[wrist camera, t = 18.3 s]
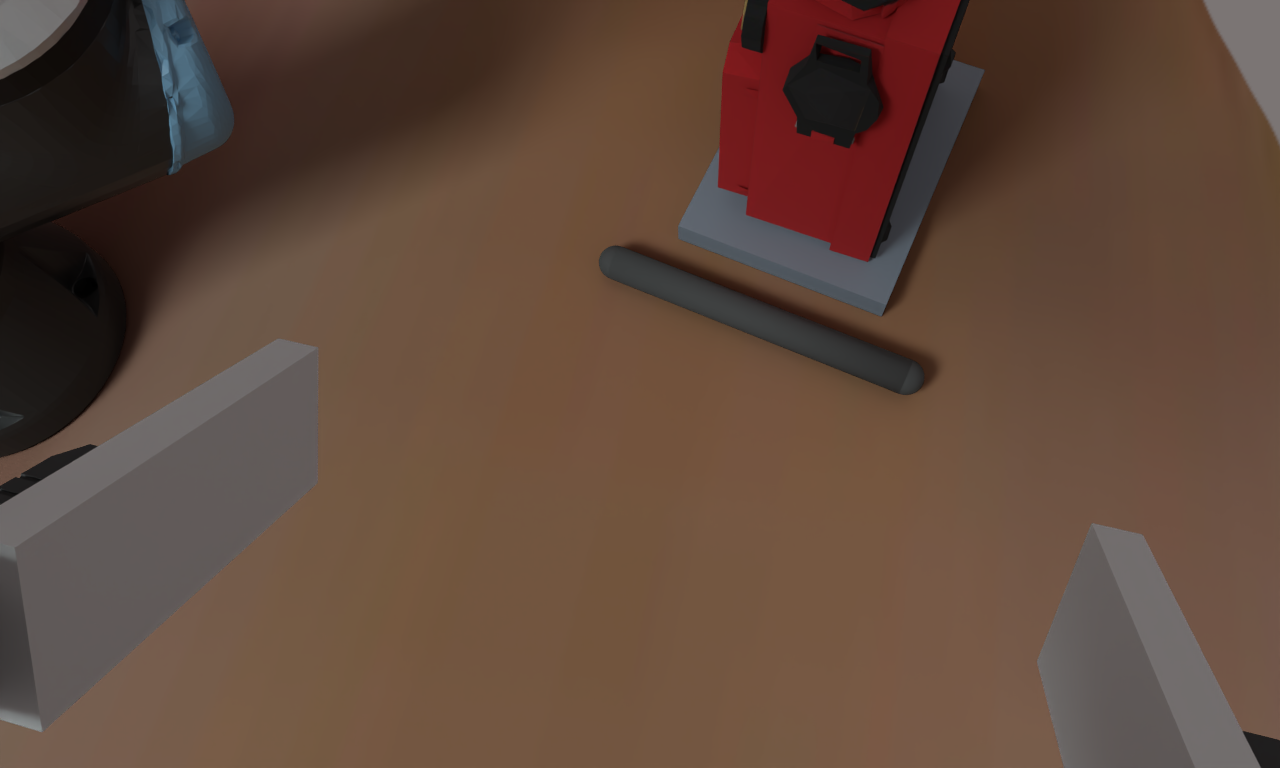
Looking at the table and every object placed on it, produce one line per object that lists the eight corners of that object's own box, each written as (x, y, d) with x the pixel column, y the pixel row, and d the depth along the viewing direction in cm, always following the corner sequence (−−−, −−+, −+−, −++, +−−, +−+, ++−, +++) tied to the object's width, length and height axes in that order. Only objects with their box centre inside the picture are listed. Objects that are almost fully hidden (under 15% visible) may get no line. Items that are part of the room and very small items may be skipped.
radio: (793, 31, 62) (836, -282, 44) (946, 75, 60) (1060, -233, 42) (706, 229, 57) (713, -31, 39) (871, 283, 55) (962, 37, 37)
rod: (595, 278, 58) (591, 261, 56) (609, 251, 59) (606, 234, 57) (913, 405, 54) (921, 392, 52) (924, 375, 55) (933, 361, 53)
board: (678, 238, 59) (678, 225, 57) (789, 24, 64) (791, 7, 63) (881, 316, 56) (886, 305, 55) (978, 85, 62) (984, 70, 60)
